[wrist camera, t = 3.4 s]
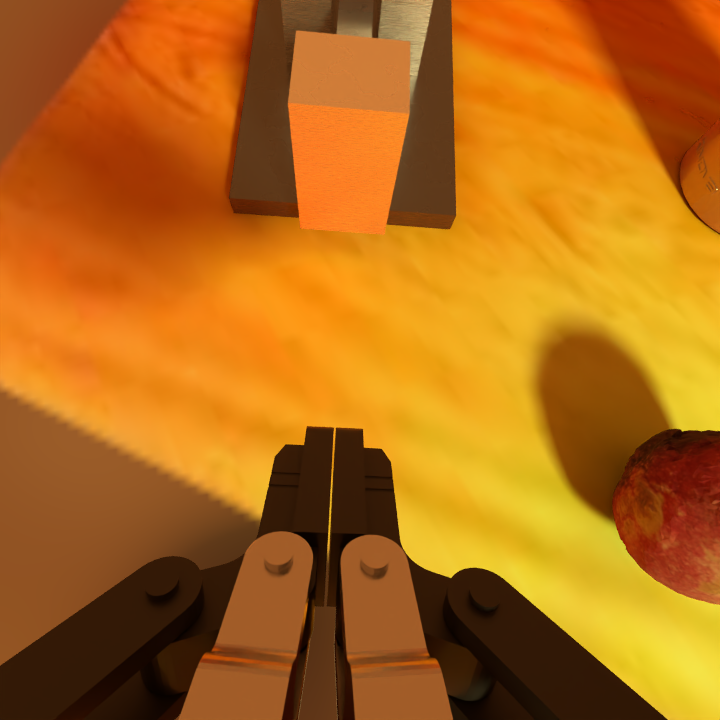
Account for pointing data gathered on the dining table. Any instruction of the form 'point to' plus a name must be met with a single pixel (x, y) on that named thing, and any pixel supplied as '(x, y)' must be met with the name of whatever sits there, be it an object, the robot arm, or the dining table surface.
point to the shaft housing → (424, 128)
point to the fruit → (674, 511)
